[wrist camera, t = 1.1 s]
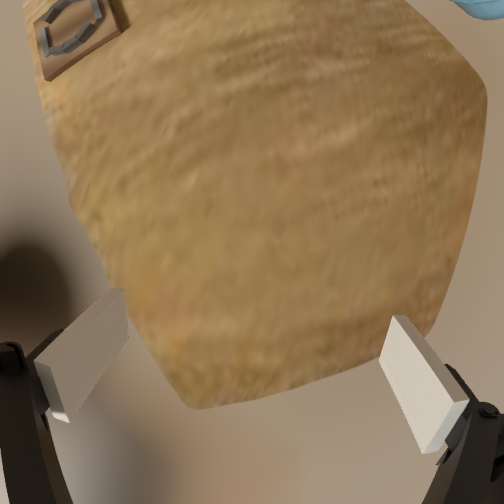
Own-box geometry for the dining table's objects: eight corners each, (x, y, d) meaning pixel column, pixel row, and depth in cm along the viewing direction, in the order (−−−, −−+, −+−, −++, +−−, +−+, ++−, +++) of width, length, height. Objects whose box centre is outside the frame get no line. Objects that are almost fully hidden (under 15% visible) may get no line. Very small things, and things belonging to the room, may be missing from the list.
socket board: (38, 25, 31) (27, 19, 28) (103, -21, 29) (94, -29, 26) (50, 81, 34) (37, 77, 31) (121, 33, 32) (112, 25, 29)
